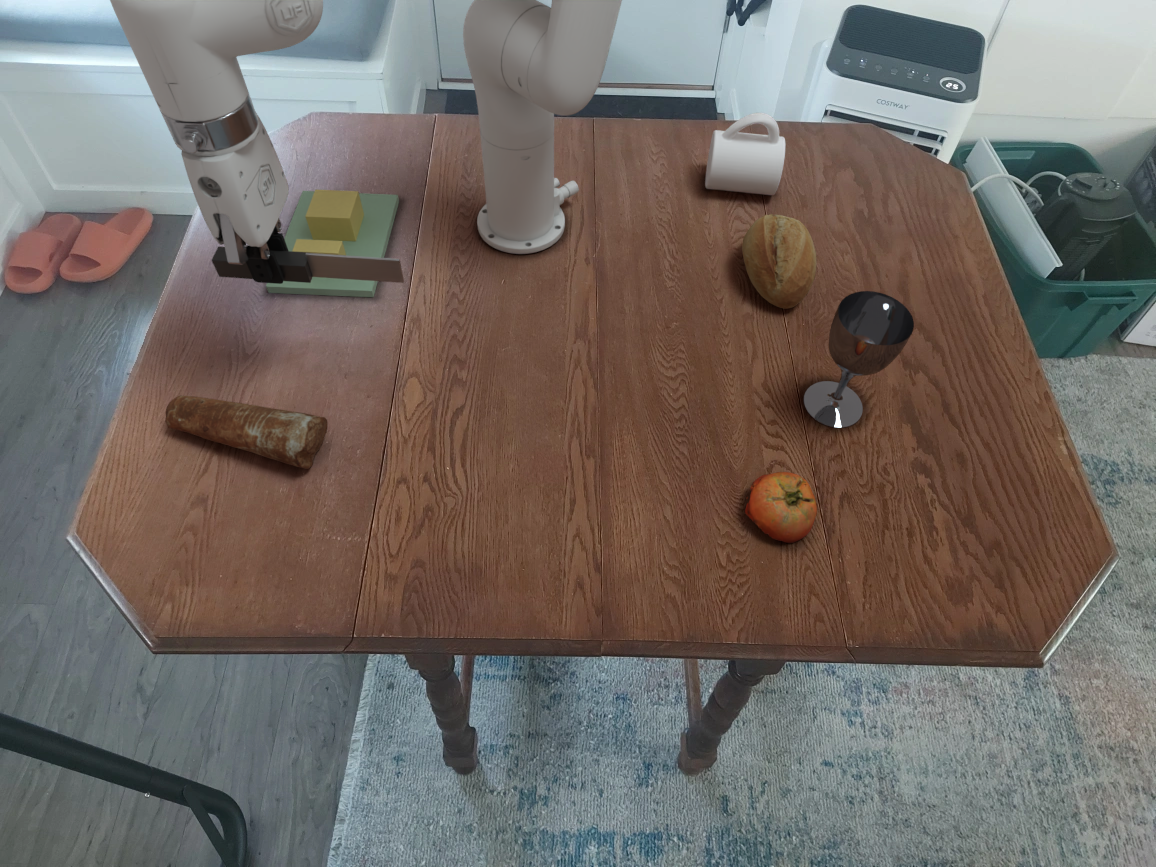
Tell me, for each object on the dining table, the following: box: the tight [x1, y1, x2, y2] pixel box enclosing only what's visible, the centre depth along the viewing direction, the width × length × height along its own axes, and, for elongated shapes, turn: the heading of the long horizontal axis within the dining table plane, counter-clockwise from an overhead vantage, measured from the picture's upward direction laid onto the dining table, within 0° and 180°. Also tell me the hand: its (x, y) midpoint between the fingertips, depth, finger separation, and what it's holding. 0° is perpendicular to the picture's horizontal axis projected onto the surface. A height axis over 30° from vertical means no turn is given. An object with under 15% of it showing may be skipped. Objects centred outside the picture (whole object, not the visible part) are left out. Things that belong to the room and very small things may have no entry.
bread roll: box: [741, 213, 817, 309], centre depth 101 cm, size 10×15×8 cm, turn 1°
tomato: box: [744, 471, 818, 544], centre depth 82 cm, size 8×7×7 cm
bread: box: [165, 394, 328, 470], centre depth 85 cm, size 6×19×6 cm, turn 73°
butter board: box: [265, 189, 400, 298], centre depth 104 cm, size 20×14×5 cm
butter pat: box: [292, 239, 346, 255], centre depth 100 cm, size 2×6×4 cm, turn 88°
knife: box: [211, 246, 405, 284], centre depth 82 cm, size 20×2×3 cm, turn 87°
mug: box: [704, 112, 787, 196], centre depth 111 cm, size 8×10×12 cm
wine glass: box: [803, 290, 915, 429], centre depth 86 cm, size 8×8×15 cm
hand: (273, 270), depth 83 cm, fingers closed on knife, 2 cm apart
